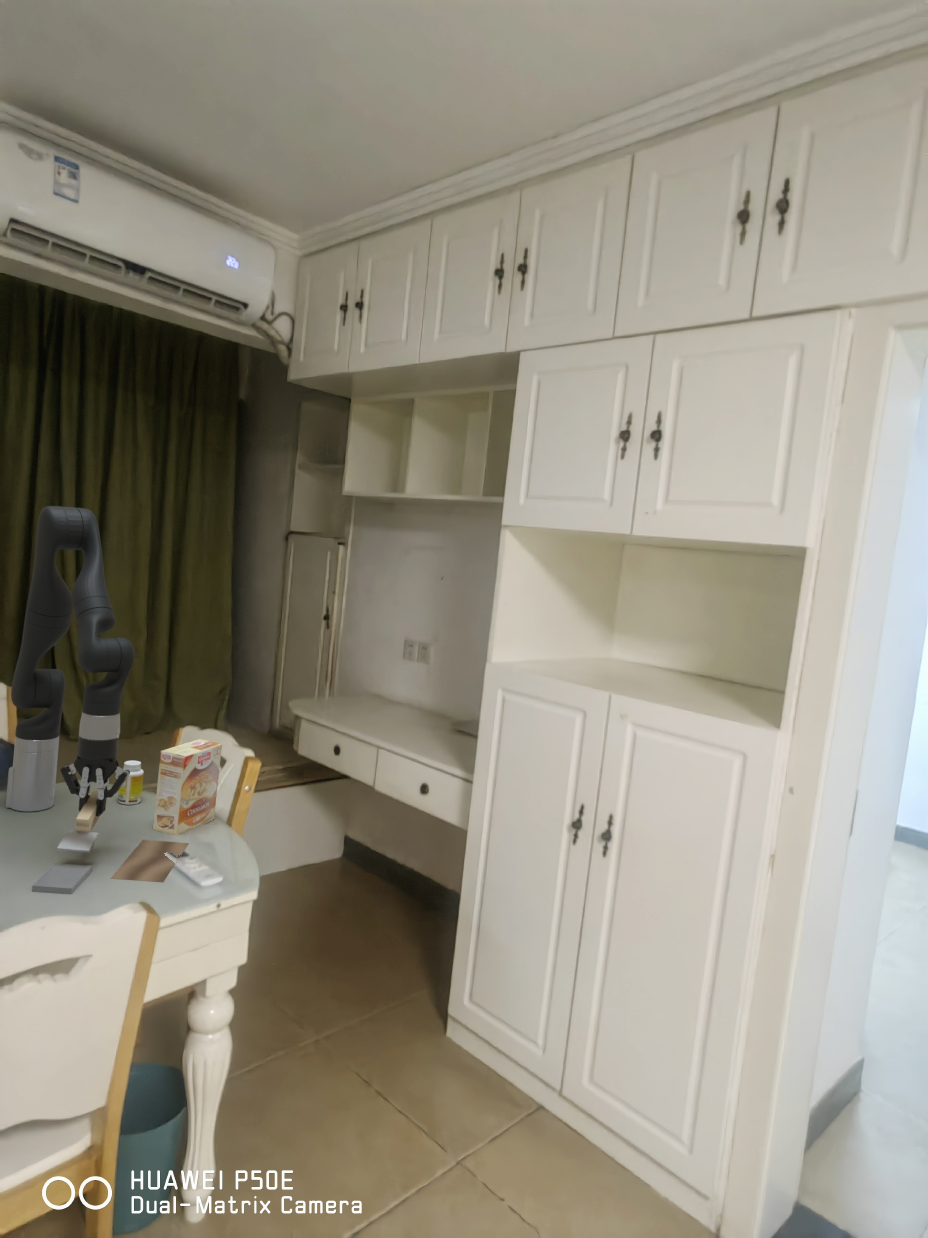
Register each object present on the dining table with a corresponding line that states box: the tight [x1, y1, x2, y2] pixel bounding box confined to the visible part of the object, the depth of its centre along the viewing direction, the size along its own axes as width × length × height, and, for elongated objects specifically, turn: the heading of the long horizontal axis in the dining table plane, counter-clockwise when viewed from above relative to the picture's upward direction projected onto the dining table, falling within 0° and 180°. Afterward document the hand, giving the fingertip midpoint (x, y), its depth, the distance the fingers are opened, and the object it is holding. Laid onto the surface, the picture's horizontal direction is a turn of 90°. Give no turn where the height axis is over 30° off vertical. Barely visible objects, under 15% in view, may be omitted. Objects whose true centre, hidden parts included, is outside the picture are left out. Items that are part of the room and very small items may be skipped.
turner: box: [56, 789, 101, 855], centre depth 153 cm, size 14×6×4 cm, turn 6°
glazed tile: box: [31, 862, 93, 895], centre depth 144 cm, size 7×2×10 cm
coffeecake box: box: [152, 738, 223, 836], centre depth 179 cm, size 15×7×20 cm, turn 164°
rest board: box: [110, 839, 190, 883], centre depth 158 cm, size 10×20×1 cm, turn 6°
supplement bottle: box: [117, 760, 145, 806], centre depth 190 cm, size 6×6×10 cm
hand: (91, 814), depth 156 cm, fingers closed on turner, 2 cm apart
